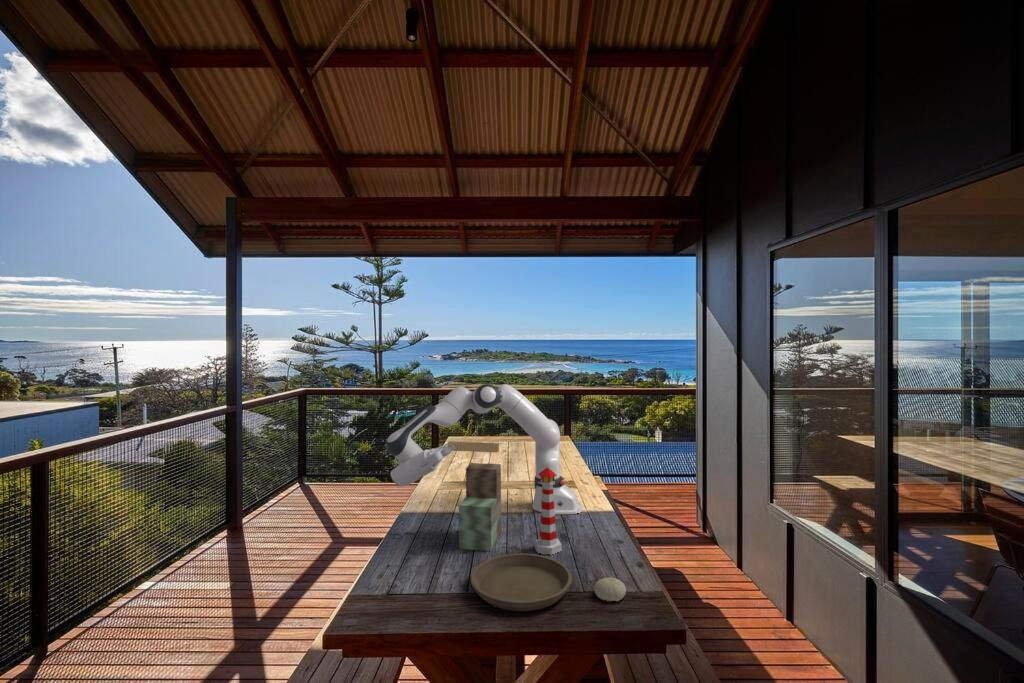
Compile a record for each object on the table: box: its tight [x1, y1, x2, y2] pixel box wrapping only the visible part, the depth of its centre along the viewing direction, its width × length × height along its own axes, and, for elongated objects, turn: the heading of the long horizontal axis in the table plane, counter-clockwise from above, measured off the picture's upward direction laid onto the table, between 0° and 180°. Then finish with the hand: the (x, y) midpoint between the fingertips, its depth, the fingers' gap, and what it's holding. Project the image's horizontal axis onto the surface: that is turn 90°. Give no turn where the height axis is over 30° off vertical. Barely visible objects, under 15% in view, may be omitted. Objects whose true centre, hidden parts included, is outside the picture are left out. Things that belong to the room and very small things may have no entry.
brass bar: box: [446, 440, 500, 453], centre depth 201 cm, size 20×3×3 cm, turn 80°
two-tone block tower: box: [458, 462, 502, 551], centre depth 196 cm, size 12×18×27 cm, turn 170°
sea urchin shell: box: [593, 576, 627, 602], centre depth 154 cm, size 9×8×8 cm
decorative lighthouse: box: [533, 467, 563, 556], centre depth 187 cm, size 10×9×30 cm
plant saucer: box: [470, 553, 573, 612], centre depth 159 cm, size 31×31×5 cm
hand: (456, 445), depth 202 cm, fingers closed on brass bar, 3 cm apart
